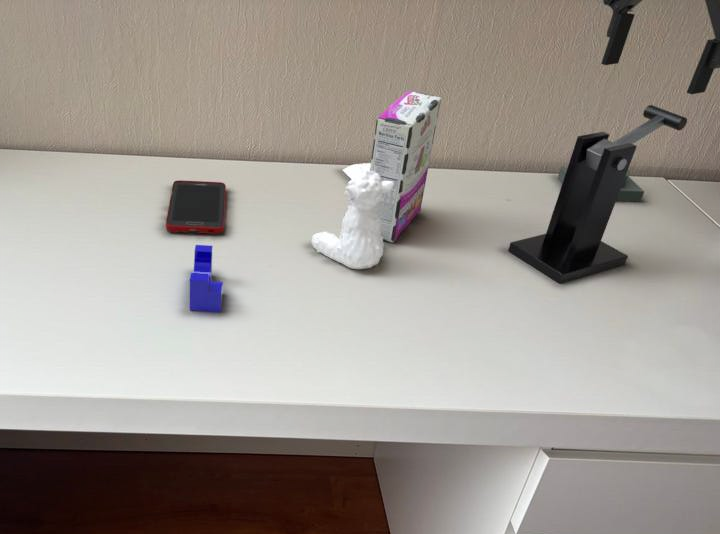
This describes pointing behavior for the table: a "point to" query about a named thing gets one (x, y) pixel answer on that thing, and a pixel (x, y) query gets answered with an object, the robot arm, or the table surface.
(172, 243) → the table surface
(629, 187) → the housing
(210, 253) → the cable holder
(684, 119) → the lever
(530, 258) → the bracket
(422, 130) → the candy bar box
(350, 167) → the white flat piece
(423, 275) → the table surface
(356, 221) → the sitting furry creature
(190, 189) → the cell phone
